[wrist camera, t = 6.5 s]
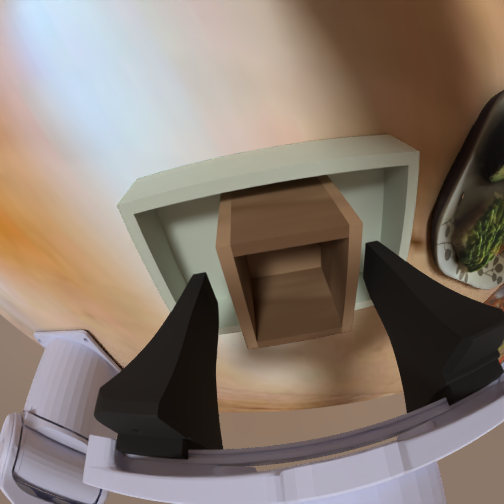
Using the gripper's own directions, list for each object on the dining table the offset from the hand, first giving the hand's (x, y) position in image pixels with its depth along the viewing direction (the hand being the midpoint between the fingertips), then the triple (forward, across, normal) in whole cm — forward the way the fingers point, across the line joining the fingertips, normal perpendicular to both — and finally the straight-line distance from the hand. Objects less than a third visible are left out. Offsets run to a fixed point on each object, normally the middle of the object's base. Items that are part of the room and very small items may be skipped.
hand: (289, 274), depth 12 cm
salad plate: (+4, -19, 0) cm, 20 cm away
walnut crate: (+3, 0, 0) cm, 3 cm away
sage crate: (+4, 0, 0) cm, 4 cm away
